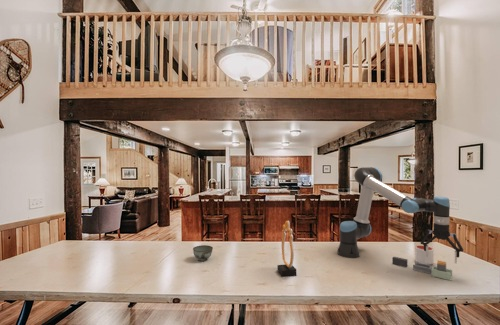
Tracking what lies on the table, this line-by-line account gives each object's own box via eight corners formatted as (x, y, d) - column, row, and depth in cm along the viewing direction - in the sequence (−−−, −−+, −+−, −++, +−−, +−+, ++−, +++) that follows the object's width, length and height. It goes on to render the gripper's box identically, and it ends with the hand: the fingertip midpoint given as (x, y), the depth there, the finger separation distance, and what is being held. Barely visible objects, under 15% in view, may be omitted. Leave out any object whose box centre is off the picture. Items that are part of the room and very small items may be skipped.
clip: (413, 270, 161) (412, 265, 161) (415, 266, 166) (415, 262, 166) (430, 274, 155) (430, 269, 155) (432, 270, 160) (432, 265, 160)
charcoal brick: (392, 264, 171) (392, 257, 171) (393, 263, 173) (393, 256, 173) (406, 267, 165) (406, 260, 165) (407, 266, 167) (407, 259, 167)
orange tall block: (437, 275, 152) (437, 262, 152) (438, 273, 155) (437, 260, 155) (445, 277, 149) (445, 263, 149) (446, 275, 152) (446, 261, 152)
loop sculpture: (275, 268, 163) (275, 218, 164) (288, 267, 165) (288, 217, 166) (284, 280, 147) (284, 224, 147) (299, 278, 149) (299, 223, 149)
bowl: (188, 261, 175) (188, 249, 175) (199, 255, 188) (199, 244, 188) (206, 264, 170) (206, 252, 170) (216, 257, 183) (216, 246, 183)
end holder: (431, 276, 152) (431, 269, 152) (433, 272, 158) (433, 265, 158) (450, 280, 146) (450, 273, 146) (452, 276, 151) (452, 269, 152)
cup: (436, 266, 168) (436, 250, 168) (419, 264, 170) (419, 249, 170) (429, 260, 177) (428, 246, 178) (412, 259, 179) (412, 245, 180)
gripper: (415, 221, 158) (414, 255, 158) (468, 228, 141) (468, 267, 141) (417, 219, 163) (417, 252, 163) (469, 226, 147) (469, 263, 147)
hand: (440, 259), depth 152 cm, fingers open, 13 cm apart
